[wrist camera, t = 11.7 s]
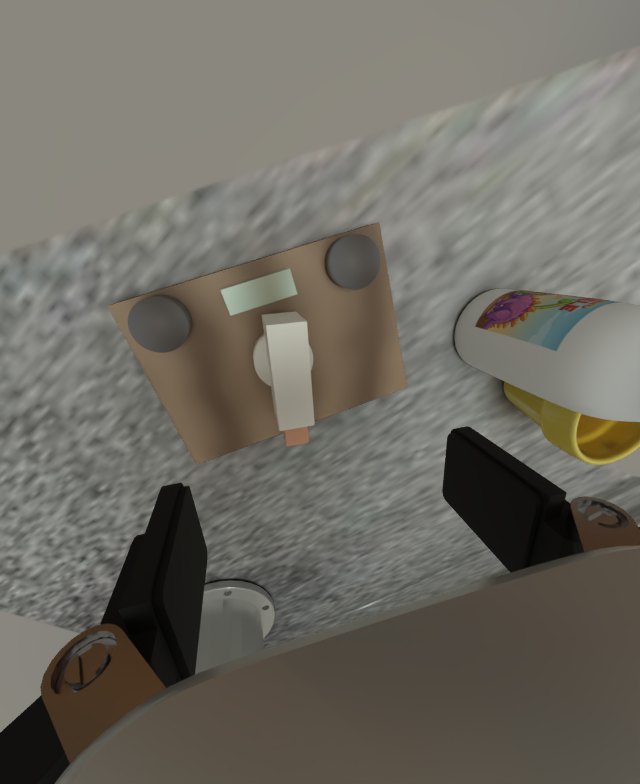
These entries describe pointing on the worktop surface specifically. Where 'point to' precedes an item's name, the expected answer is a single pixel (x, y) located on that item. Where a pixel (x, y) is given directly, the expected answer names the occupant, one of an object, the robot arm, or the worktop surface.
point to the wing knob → (287, 372)
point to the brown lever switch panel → (244, 325)
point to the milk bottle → (557, 349)
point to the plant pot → (578, 429)
